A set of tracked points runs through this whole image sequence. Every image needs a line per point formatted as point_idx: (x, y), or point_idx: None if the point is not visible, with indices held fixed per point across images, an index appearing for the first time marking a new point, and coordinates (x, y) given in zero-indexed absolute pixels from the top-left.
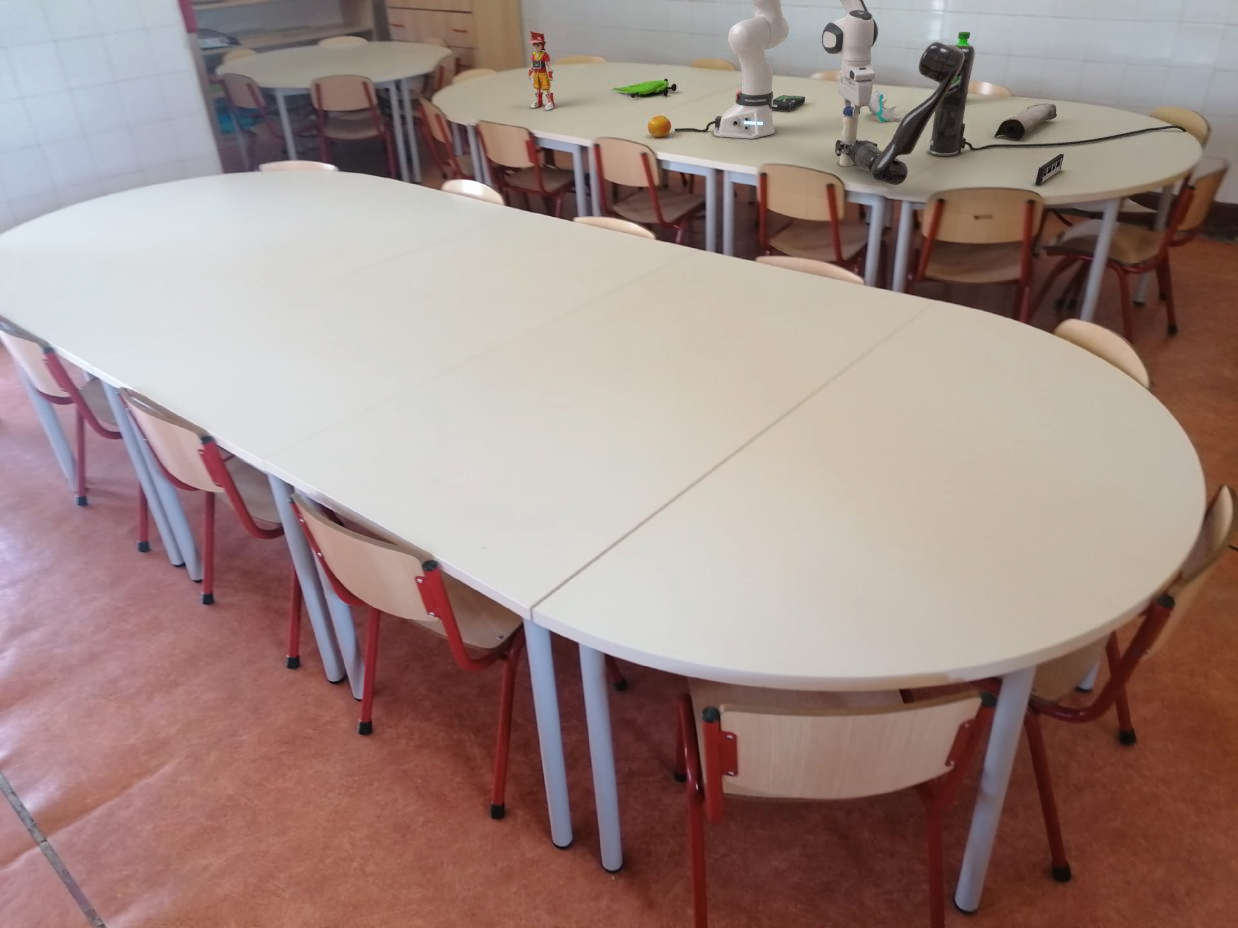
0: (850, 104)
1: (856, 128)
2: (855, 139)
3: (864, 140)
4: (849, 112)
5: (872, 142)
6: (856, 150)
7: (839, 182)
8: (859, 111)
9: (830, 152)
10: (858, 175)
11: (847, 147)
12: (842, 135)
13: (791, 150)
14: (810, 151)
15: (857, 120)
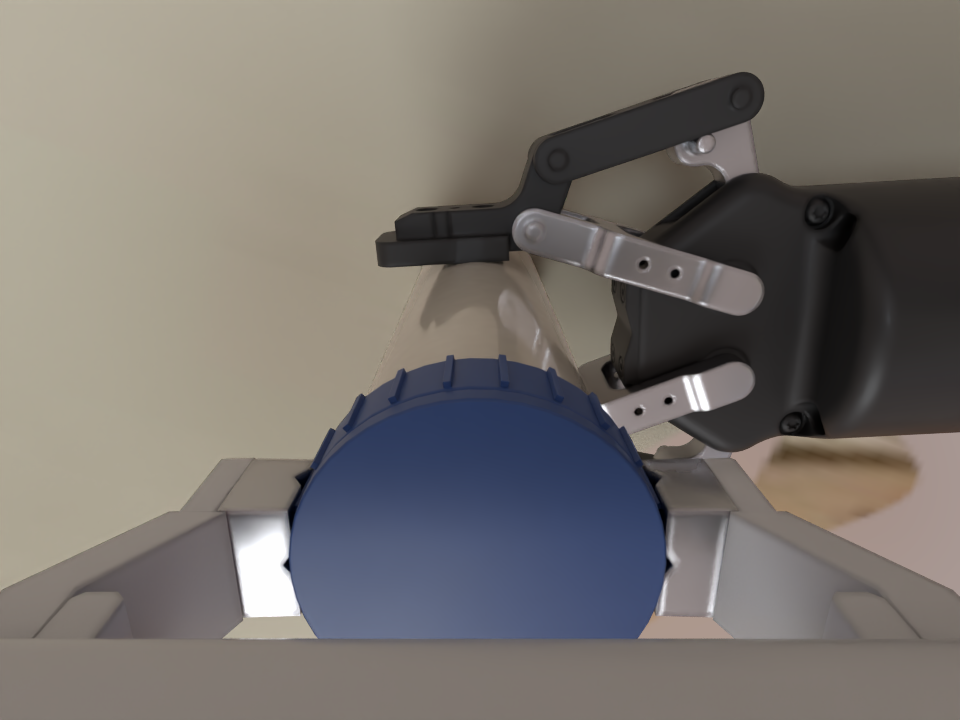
0: (178, 546)
1: (561, 340)
2: (544, 298)
3: (538, 173)
4: (616, 634)
5: (658, 108)
6: (947, 432)
7: (864, 469)
8: (601, 425)
9: (119, 298)
10: None
11: (704, 433)
12: None
13: (31, 543)
14: (72, 432)
15: (572, 377)
